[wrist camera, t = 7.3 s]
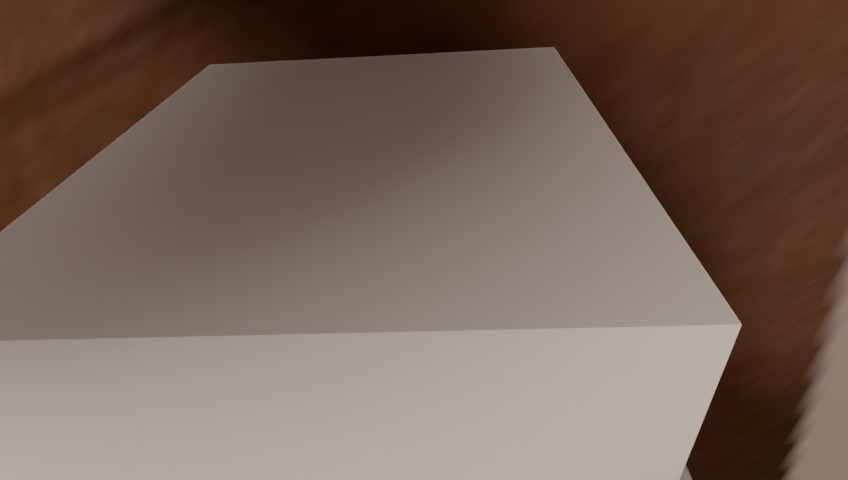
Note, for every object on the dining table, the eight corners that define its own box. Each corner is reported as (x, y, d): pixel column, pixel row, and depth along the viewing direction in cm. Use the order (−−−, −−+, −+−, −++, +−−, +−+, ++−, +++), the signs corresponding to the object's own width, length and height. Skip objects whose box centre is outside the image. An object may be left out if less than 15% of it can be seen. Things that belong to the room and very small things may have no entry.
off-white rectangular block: (209, 64, 11) (-140, 343, 4) (554, 47, 10) (742, 324, 4) (308, 405, 17) (227, 726, 10) (524, 402, 17) (577, 733, 10)
